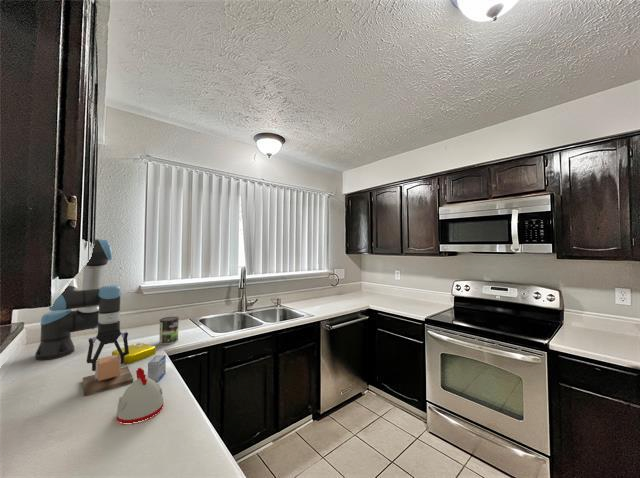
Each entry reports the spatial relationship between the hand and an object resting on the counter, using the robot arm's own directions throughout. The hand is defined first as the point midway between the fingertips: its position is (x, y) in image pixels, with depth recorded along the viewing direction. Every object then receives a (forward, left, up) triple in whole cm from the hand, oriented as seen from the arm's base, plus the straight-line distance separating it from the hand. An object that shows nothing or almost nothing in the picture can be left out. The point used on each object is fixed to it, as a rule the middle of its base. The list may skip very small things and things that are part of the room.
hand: (108, 374), depth 116 cm
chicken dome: (+18, -30, -3) cm, 35 cm away
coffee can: (+18, +45, -3) cm, 49 cm away
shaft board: (0, 0, -3) cm, 3 cm away
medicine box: (+19, -4, -3) cm, 20 cm away
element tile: (+4, +27, -4) cm, 28 cm away
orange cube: (0, 0, 0) cm, 0 cm away
